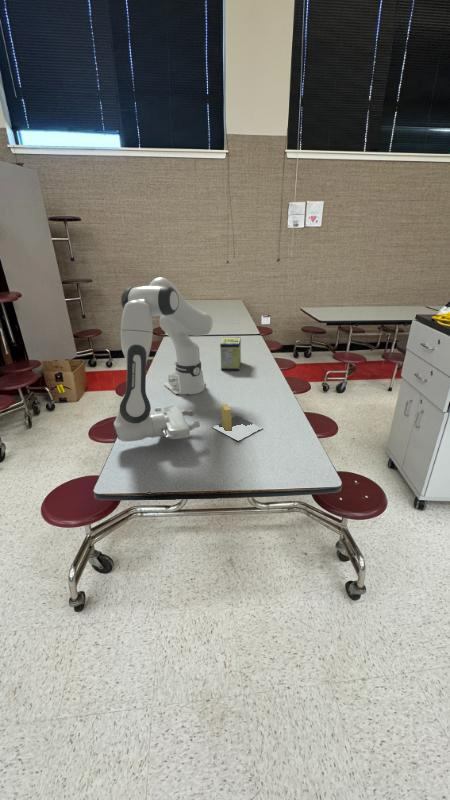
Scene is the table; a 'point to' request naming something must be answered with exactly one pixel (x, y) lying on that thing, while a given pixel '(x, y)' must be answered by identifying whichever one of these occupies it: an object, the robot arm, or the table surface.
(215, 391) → the table surface
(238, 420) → the mat
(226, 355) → the protein box
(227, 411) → the box
